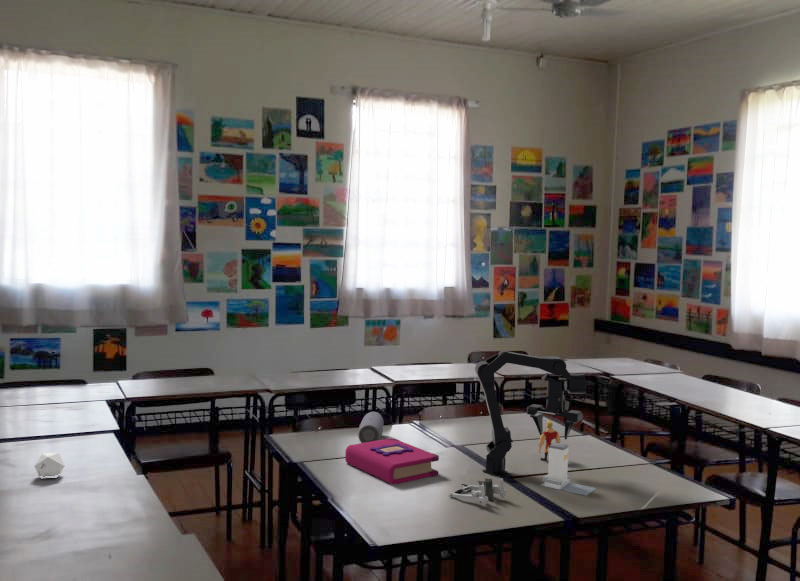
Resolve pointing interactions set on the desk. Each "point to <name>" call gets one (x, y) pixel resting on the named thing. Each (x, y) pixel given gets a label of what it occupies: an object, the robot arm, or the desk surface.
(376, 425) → the bluetooth speaker
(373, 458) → the book
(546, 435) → the action figure
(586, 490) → the din rail board
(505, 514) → the desk surface
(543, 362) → the robot arm
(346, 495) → the desk surface
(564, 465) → the relay module
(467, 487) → the bike brake
